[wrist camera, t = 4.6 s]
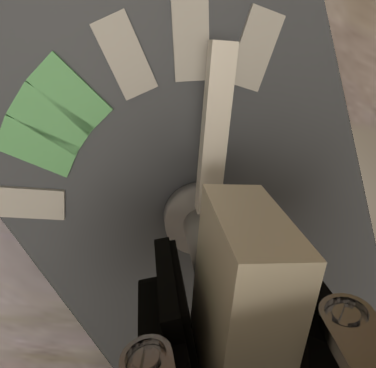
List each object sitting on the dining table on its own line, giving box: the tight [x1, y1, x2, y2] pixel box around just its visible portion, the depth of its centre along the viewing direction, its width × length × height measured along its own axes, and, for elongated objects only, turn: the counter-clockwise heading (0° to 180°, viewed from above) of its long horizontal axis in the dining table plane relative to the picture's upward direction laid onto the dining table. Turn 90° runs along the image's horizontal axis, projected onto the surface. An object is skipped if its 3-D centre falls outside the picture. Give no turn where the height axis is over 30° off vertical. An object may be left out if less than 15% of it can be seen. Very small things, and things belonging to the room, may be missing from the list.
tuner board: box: [0, 0, 376, 368], centre depth 17 cm, size 22×16×1 cm
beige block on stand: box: [164, 40, 327, 368], centre depth 11 cm, size 11×3×9 cm, turn 176°
